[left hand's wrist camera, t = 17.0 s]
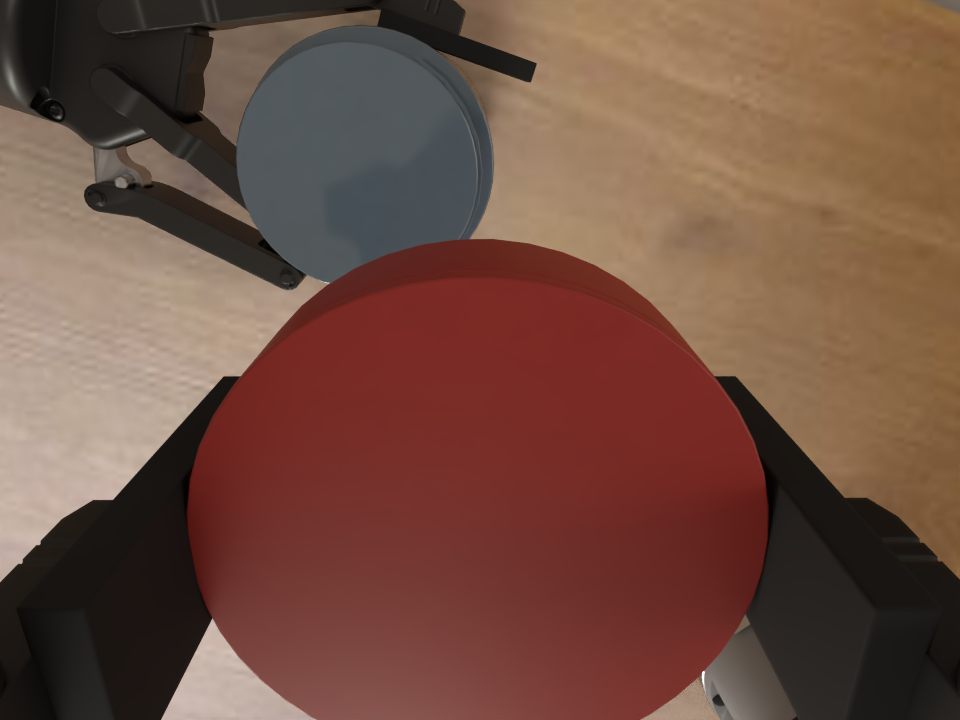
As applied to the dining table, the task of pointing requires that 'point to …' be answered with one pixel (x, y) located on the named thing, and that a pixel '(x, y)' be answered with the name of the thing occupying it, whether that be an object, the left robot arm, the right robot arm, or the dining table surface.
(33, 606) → the left robot arm
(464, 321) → the lid
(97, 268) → the dining table surface
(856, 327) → the dining table surface
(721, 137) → the dining table surface
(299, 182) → the jar
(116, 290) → the dining table surface
